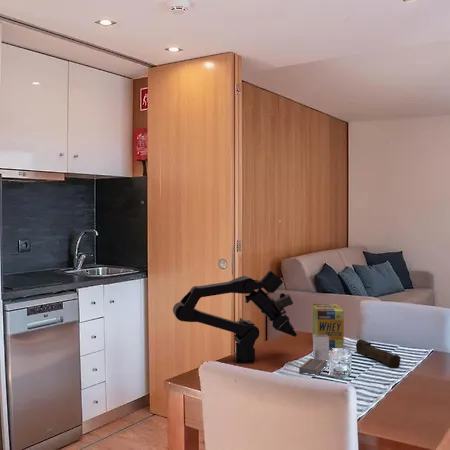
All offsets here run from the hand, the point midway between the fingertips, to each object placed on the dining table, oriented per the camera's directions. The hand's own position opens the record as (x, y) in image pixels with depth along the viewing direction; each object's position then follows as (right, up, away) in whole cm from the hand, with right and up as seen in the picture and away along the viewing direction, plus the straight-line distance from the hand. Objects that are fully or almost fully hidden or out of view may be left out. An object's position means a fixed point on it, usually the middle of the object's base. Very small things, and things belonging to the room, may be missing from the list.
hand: (294, 332), depth 193 cm
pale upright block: (+10, -10, 0) cm, 14 cm away
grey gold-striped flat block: (+5, -10, -12) cm, 17 cm away
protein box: (+16, -9, +21) cm, 28 cm away
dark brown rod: (+29, -10, 0) cm, 31 cm away
